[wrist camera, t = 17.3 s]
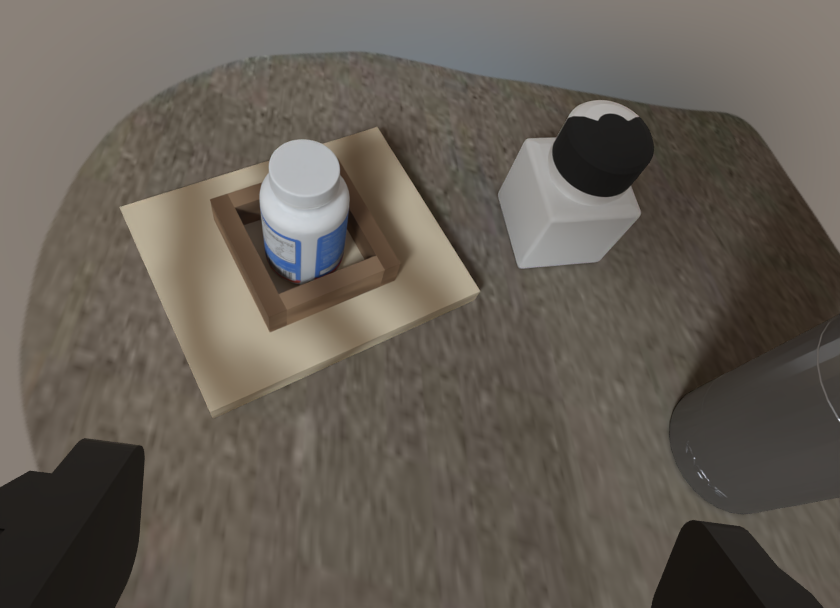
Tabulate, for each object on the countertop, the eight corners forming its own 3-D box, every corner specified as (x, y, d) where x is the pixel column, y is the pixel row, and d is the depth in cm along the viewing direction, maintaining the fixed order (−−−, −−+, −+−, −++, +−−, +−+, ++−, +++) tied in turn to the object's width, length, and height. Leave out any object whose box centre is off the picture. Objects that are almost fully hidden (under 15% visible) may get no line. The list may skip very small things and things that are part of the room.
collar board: (374, 139, 51) (381, 104, 47) (474, 299, 46) (490, 275, 43) (124, 219, 44) (110, 185, 40) (212, 418, 39) (205, 400, 36)
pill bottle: (337, 217, 45) (348, 127, 37) (348, 283, 43) (362, 204, 35) (260, 222, 44) (252, 130, 35) (267, 290, 42) (261, 209, 33)
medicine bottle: (599, 263, 50) (683, 172, 39) (517, 270, 48) (581, 176, 38) (574, 189, 53) (646, 85, 42) (495, 193, 51) (549, 86, 40)
